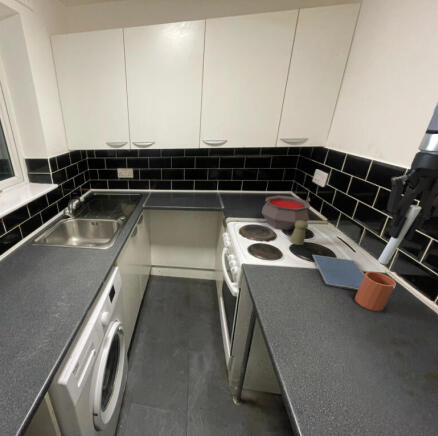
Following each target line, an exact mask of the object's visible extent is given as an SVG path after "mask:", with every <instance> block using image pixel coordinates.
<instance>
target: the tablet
mask: <svg viewBox="0 0 438 436" xmlns="http://www.w3.org/2000/svg"><path fill="white" fill-rule="evenodd" d="M311 258H312V260H313V262H314V264H315V266H316V268H317V271H318V273H319V275H320V277H321V279H322V281H323V283H324V285H325V286H326V287H333V288H337V289H338V288H339V289H343V290H344V289H345V290H349V291H355V292H357V291H358V289H359V286H360V284H361V282H362V279H363V277H364V275H365V272H364V271H363V270H362V269H361V267H360V266H359V265H358V263H357V262H356V261H355V260H354V259H346V258H339V257H332V256H325V255H318V254H311Z"/></svg>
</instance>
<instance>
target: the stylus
mask: <svg viewBox="0 0 438 436" xmlns="http://www.w3.org/2000/svg"><path fill="white" fill-rule="evenodd" d="M420 210H421V207H420V206H419V205H417V204H411V206H410V207H409V209H408V211H407V212H406V214H405V215H404V216H405V217H407V220H406V222H405V224H404V226H403V228H402V230H401V232H400V234H399V236H398V239H395V238H393V237H392V236H391V237H390V238H389V240H388V242H387V244H386V246H385V247H384V249H383V251H382V252H381V254H380V256H379V258H378V259H377V261H378V263H379V264H380V265H388V264H389V262H390V261H391V259H392V257H393V256H394V254H395V253H396V251H397V250H398V247H399V246H400V244H401V243H402V241H403V240H404V239H405V238H404V236H405V234H406V233H407V231H408V229H409V228H410V226H411V225H412V223H413V221H414V220H415V218H416V216H417V215H418V213H419V211H420Z"/></svg>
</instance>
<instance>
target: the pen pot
mask: <svg viewBox="0 0 438 436" xmlns="http://www.w3.org/2000/svg"><path fill="white" fill-rule="evenodd" d="M364 274H365V275H364V277H363V279H362V282H361V284H360V286H359V289H358V291H356V294H355V296H354V301H355V302H356V303H357V304H358V305H359V306H361V307H363V308H364V309H367V310H370V311H374V312H381V311H383V310H384V309H385V307H386V305H387V303H388V301H389V299H390V298H391V296H392V293H393V292H394V290H395V288H396V286H397V281H395V280H394V279H393V278H391V277H390V276H389V275H386V274H383V273H381V272H376V271H366V272H364Z"/></svg>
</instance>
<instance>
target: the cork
mask: <svg viewBox="0 0 438 436" xmlns="http://www.w3.org/2000/svg"><path fill="white" fill-rule="evenodd" d="M308 227H309V224H308V221H306V222H305V221H302V220H298V221H296V222H295V229H293V231H292V234H291V236H290V239H289V242H290V243H291V244H293V245H297V246H303V245H304V244H305V240H306V239H305V238H306V230H307V229H308Z"/></svg>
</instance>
